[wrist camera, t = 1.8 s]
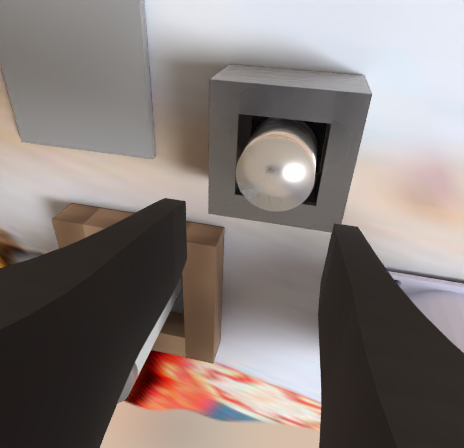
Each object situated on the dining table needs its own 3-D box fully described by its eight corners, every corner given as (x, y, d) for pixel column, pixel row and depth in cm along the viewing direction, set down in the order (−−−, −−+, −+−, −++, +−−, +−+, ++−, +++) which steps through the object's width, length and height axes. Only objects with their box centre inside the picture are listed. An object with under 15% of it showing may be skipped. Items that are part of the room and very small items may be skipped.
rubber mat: (142, -18, 16) (137, -18, 16) (155, 155, 20) (152, 159, 20) (-17, -26, 17) (-25, -26, 17) (27, 138, 22) (21, 141, 21)
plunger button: (322, 119, 15) (321, 143, 13) (311, 183, 17) (308, 216, 15) (252, 111, 16) (237, 134, 14) (247, 175, 18) (234, 205, 15)
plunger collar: (364, 75, 16) (372, 94, 13) (337, 197, 19) (338, 233, 16) (230, 64, 17) (209, 79, 14) (225, 181, 20) (208, 213, 17)
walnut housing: (224, 227, 22) (215, 246, 20) (220, 340, 27) (213, 363, 26) (71, 203, 24) (52, 219, 22) (96, 314, 29) (82, 334, 27)
